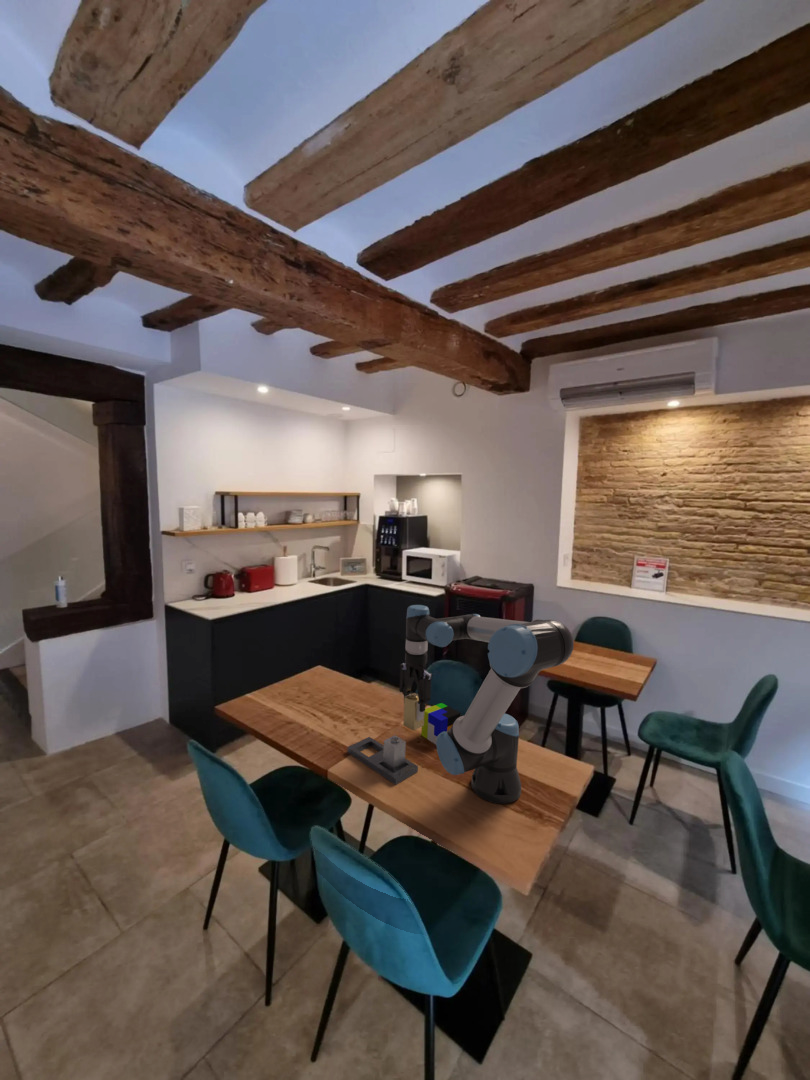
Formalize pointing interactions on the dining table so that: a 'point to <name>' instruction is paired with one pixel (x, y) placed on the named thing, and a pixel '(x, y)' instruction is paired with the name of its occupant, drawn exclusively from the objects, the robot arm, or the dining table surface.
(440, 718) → the puzzle toy
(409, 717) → the tan block with knob
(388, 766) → the silver block with knob
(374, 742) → the grey flat plate
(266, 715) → the dining table surface
